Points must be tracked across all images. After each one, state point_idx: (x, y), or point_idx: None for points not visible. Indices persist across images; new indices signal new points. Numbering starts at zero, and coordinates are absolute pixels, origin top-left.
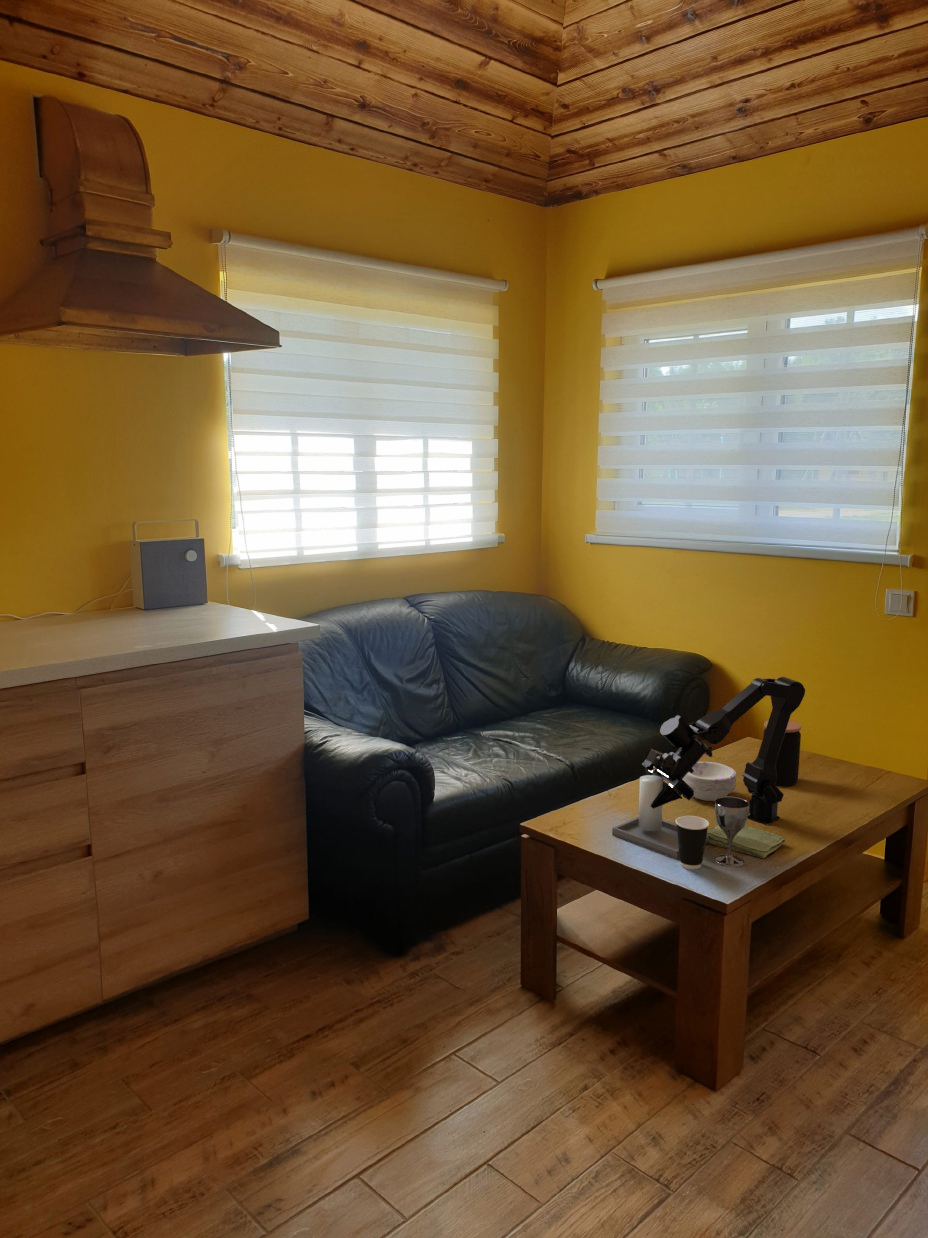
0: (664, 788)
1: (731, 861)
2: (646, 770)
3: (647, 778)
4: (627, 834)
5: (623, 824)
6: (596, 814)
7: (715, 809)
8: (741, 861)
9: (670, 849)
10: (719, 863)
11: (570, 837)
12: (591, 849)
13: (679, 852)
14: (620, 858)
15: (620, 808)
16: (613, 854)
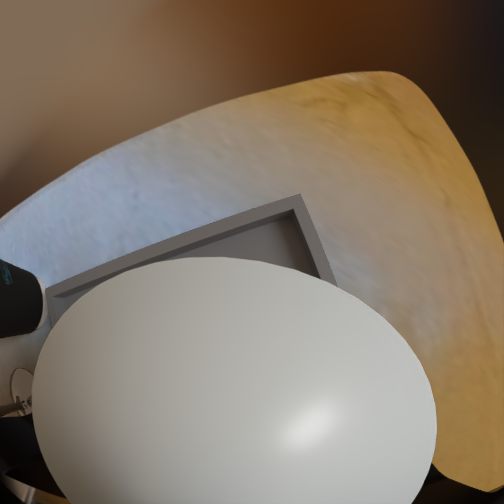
0: (27, 429)
1: (15, 392)
2: (497, 500)
3: (285, 456)
4: (226, 218)
5: (315, 253)
6: (458, 255)
7: None
8: (19, 414)
9: (60, 282)
10: (21, 369)
11: (322, 98)
12: (225, 105)
13: (14, 266)
14: (137, 148)
15: (468, 354)
16: (166, 141)
